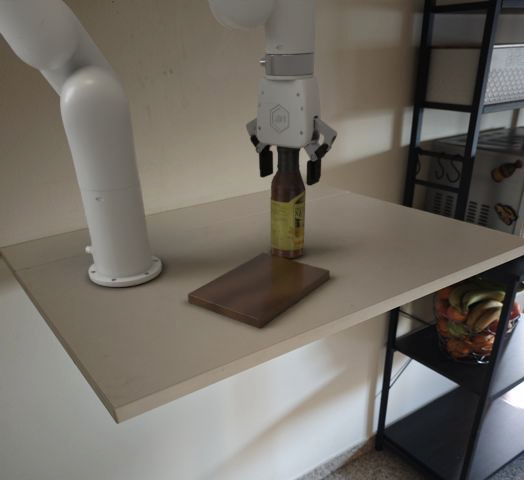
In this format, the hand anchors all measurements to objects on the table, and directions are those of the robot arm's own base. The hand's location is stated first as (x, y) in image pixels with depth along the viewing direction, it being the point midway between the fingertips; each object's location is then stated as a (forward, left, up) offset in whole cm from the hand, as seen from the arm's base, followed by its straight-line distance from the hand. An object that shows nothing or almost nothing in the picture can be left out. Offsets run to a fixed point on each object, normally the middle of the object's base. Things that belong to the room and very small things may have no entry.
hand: (289, 179), depth 87 cm
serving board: (+5, -15, -14) cm, 21 cm away
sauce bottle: (0, 0, -14) cm, 14 cm away
